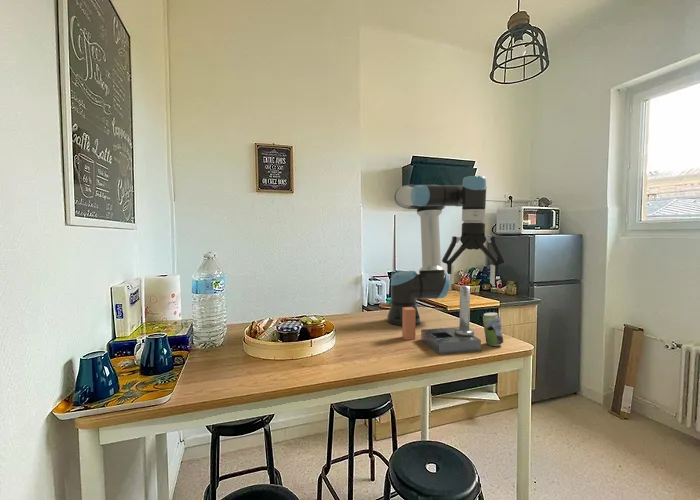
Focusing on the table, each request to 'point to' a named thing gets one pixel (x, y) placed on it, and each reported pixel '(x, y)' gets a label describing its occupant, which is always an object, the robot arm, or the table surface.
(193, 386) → the table surface
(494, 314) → the beverage can
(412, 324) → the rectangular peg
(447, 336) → the socket base with post
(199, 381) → the table surface
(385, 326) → the table surface
